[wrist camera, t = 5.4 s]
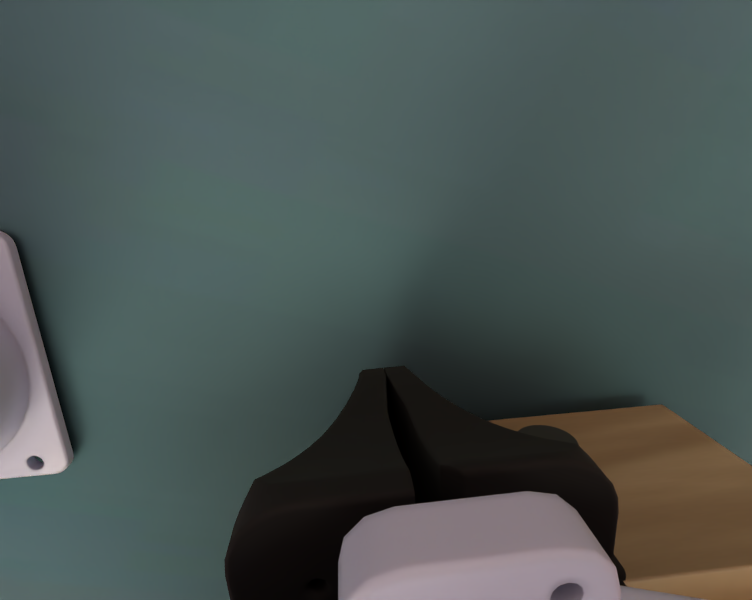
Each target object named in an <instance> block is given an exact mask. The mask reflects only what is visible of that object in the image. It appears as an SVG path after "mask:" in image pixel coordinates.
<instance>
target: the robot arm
mask: <svg viewBox="0 0 752 600" xmlns="http://www.w3.org/2000/svg"><path fill="white" fill-rule="evenodd" d="M35 456H38V457H40V458H41V459H42V460H43V462H40V461H38V460H37V459H36V457H35ZM73 459H74V457H73V450H72V447H71V443H70V440H69V436H68V432H67V429H66V425H65V421H64V418H63V414H62V410H61V407H60V403H59V400H58V396H57V392H56V389H55V385H54V381H53V378H52V374H51V370H50V367H49V363H48V360H47V356H46V352H45V349H44V345H43V341H42V338H41V334H40V330H39V327H38V323H37V320H36V316H35V312H34V309H33V305H32V301H31V298H30V294H29V291H28V287H27V283H26V280H25V276H24V272H23V269H22V265H21V261H20V258H19V254H18V251H17V247H16V245H15V243H14V240H13V239H12V238H11V237H10V236H9V235H8V234H6V233H4V232H2V231H0V479H5V478H15V477H26V476H36V475H47V474H57V473H60V472H62V471H64V470H65V469H66V468H67V467H68V466H69V465H70V464H71V463H72V461H73ZM618 514H619V507H618V496H617V493H616V491H615V488H614V485H613V483H612V482H611V481H610V480H609V479H608V478H607V476H606V475H605V474H604V473H603V472H602V470H601V469H600V468H599V467H598V466H597V464H596V463H595V462H594V461H593V460H592V458H591V457H590V456H589V455H588V454H587V453H586V452H585V451H584V450H583V449H582V448H581V447H580V446H579V445H578V444H575V443H569V442H563V441H558V440H552V439H546V438H541V437H536V436H533V435H529V434H525V433H521V432H518V431H514V430H511V429H508V428H505V427H502V426H499V425H497V424H494V423H492V422H489V421H486V420H484V419H482V418H479V417H477V416H475V415H473V414H471V413H469V412H467V411H465V410H463V409H461V408H460V407H458V406H456V405H455V404H453V403H451V402H450V401H448V400H447V399H445V398H444V397H442V396H441V395H439V394H438V393H436V392H435V391H434V390H432V389H431V388H430V387H428V386H427V385H426V384H425V383H424V382H422V381H421V380H420V379H419V378H418V377H417V376H415V375H414V374H413V373H412V372H411V371H410V370H409V369H407V368H406V367H405V366H398V367H387V368H384V369H383V368H377V369H366V370H362V371H361V372H360V374H359V379H358V382H357V384H356V386H355V389H354V391H353V393H352V395H351V397H350V398H349V400H348V402H347V404H346V405H345V407H344V408H343V410H342V411H341V413H340V415H339V416H338V417H337V419H336V420H335V421H334V423H333V424H332V425H331V426H330V428H329V429H328V430H327V431H326V432H325V433H324V434H323V435H322V436H321V437H320V438H319V439H318V440H317V441H316V442H314V443H313V444H312V445H311V446H310V447H309V448H307V449H306V450H305V451H303V452H302V453H301V454H299V455H298V456H297V457H295V458H294V459H292V460H291V461H289V462H287V463H286V464H284V465H282V466H281V467H279V468H277V469H275V470H273V471H271V472H269V473H267V474H265V475H264V476H262V477H260V478H257V479H255V480H254V482H253V484H252V486H251V488H250V490H249V492H248V494H247V496H246V498H245V500H244V503H243V505H242V507H241V509H240V511H239V514H238V516H237V519H236V522H235V525H234V528H233V532H232V535H231V539H230V543H229V546H228V550H227V553H226V557H225V577H226V581H227V586H228V590H229V595H230V600H706V599H700V598H694V597H688V596H682V595H675V594H669V593H663V592H657V591H651V590H645V589H639V588H632V587H627V586H626V585H625V583H624V582H623V581H626V572H625V569H624V568H623V566H622V565H621V564H620V562H619V561H618V559H617V558H616V556H615V555H614V546H615V538H616V530H617V522H618Z"/></svg>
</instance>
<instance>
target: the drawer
mask: <svg viewBox="0 0 752 600" xmlns="http://www.w3.org/2000/svg"><path fill="white" fill-rule="evenodd" d="M489 422H492V423H494V424H497V425H499V426H502V427H505V428H508V429H511V430H514V431H518V432H521V433H525V434H529V435H533V436H536V437H541V438H546V439H552V440H558V441H563V442H569V443H575V444H578V445H579V446H580V447H581V448H582V449H583V450H584V451H585V452H586V453H587V454H588V455H589V456H590V457H591V458H592V460H593V461H594V462H595V463H596V464H597V466H598V467H599V468H600V469H601V470H602V472H603V473H604V474H605V475H606V476H607V478H608V479H609V480H610V481H611V482H612V483H613V485H614V488H615V491H616V493H617V496H618V507H619V514H618V522H617V530H616V538H615V546H614V555H615V556H616V558H617V559H618V561H619V562H620V564H621V565H622V566H623V568H624V569H625V572H626V581H623V582H624V583H625V585H626V586H627V587H632V588H639V589H645V590H651V591H657V592H663V593H669V594H675V595H682V596H688V597H694V598H700V599H706V600H752V466H751V465H750V464H748V463H747V462H745V461H744V460H742V459H741V458H740V457H738V456H737V455H735V454H734V453H732V452H731V451H729V450H728V449H726V448H725V447H723V446H722V445H721V444H719V443H718V442H716V441H715V440H713V439H712V438H710V437H709V436H707V435H706V434H705V433H703V432H702V431H700V430H699V429H697V428H696V427H694V426H693V425H691V424H690V423H688V422H687V421H686V420H684V419H683V418H681V417H680V416H678V415H677V414H675V413H674V412H672V411H671V410H669V409H668V408H667V407H665V406H664V405H650V406H639V407H628V408H618V409H607V410H596V411H586V412H575V413H564V414H553V415H543V416H532V417H521V418H511V419H500V420H489Z"/></svg>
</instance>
